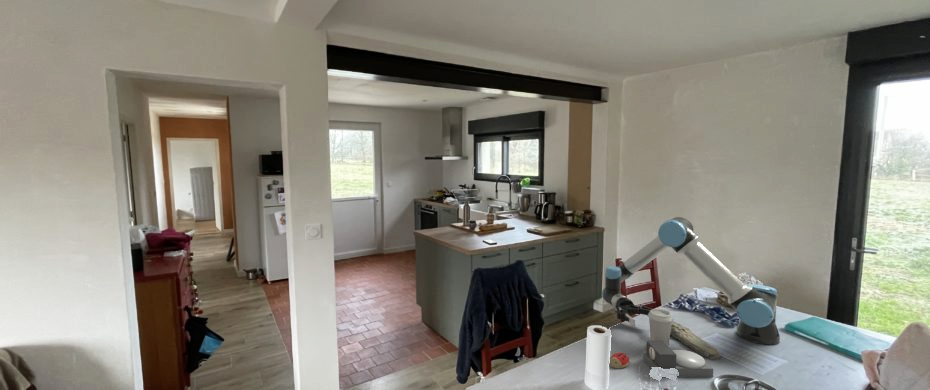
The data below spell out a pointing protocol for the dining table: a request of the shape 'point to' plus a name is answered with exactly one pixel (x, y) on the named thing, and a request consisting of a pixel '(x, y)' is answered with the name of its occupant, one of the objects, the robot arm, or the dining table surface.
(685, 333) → the elongated rock
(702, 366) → the kitchen scale
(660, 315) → the coffee cup
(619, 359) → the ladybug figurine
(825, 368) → the dining table surface
